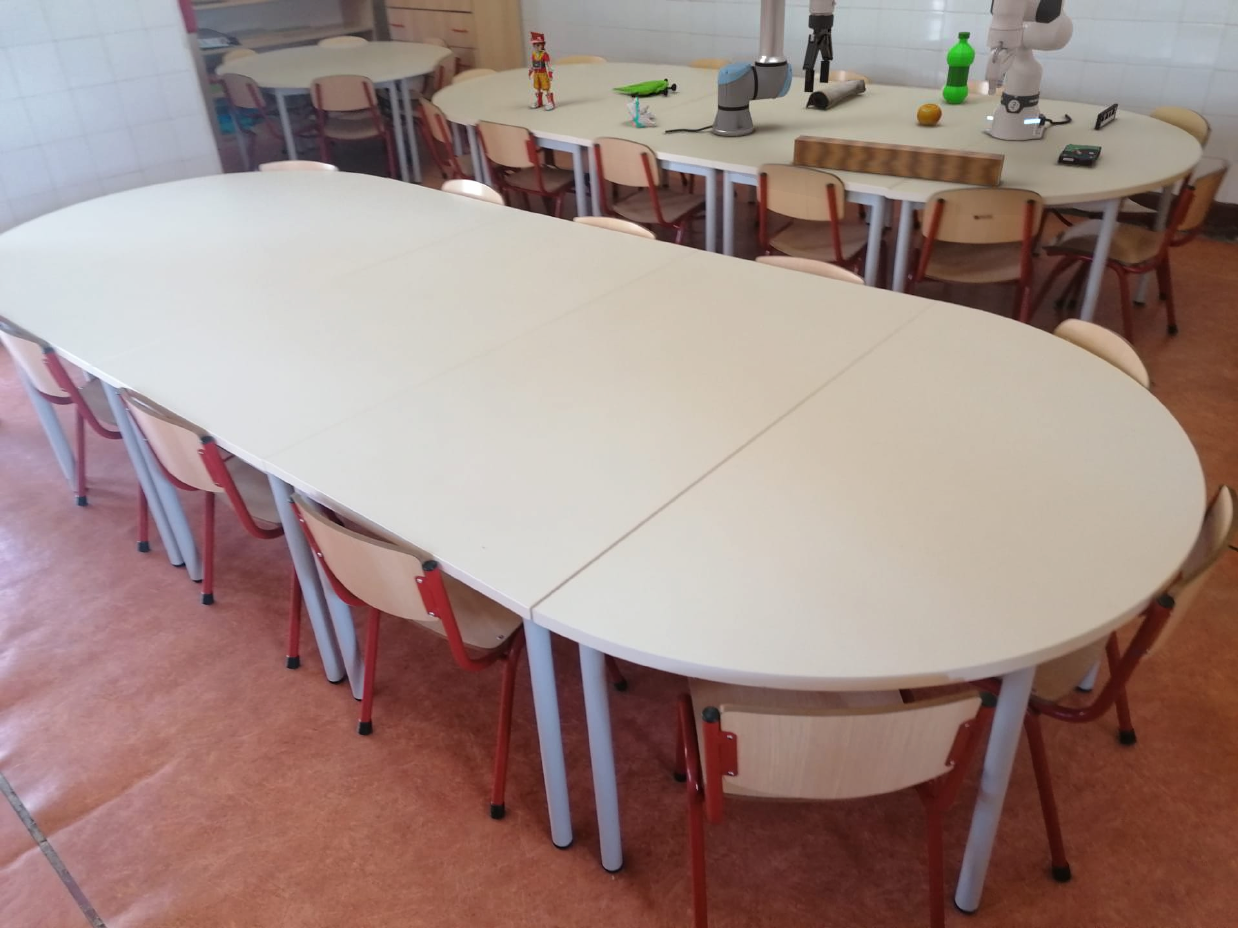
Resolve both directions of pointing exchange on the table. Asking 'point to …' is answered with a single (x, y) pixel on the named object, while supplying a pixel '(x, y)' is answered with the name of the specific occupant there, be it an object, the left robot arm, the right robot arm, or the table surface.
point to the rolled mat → (835, 93)
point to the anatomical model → (640, 114)
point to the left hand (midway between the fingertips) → (816, 87)
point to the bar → (899, 160)
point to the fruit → (929, 114)
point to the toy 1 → (541, 71)
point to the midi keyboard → (1106, 116)
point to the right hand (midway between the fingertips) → (994, 91)
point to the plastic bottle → (958, 69)
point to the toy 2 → (648, 88)
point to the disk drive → (1079, 155)
